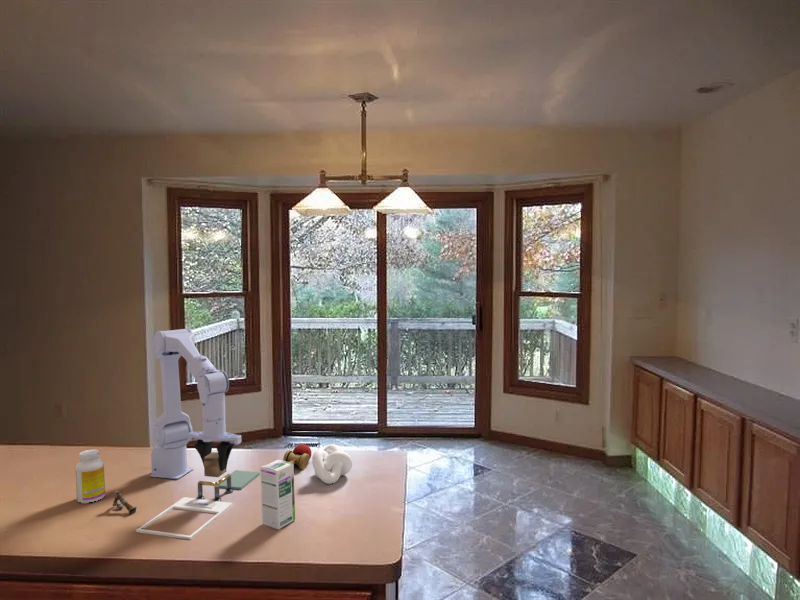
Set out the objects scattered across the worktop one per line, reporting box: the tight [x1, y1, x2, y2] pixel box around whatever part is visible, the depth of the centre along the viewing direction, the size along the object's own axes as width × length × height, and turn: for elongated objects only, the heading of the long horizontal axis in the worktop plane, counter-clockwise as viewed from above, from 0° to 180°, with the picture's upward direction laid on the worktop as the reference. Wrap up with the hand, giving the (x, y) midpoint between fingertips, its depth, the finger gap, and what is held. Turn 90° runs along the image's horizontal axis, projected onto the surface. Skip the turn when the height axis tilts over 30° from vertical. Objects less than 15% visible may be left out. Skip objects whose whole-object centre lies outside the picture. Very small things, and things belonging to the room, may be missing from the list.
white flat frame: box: [135, 496, 234, 540], centre depth 133 cm, size 15×1×18 cm
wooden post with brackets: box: [112, 490, 138, 515], centre depth 137 cm, size 2×8×4 cm, turn 61°
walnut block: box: [203, 451, 227, 478], centre depth 141 cm, size 4×4×5 cm
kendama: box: [282, 443, 312, 471], centre depth 163 cm, size 8×6×18 cm
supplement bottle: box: [74, 449, 106, 504], centre depth 143 cm, size 7×7×13 cm
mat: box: [219, 469, 261, 490], centre depth 155 cm, size 8×11×1 cm
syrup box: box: [259, 459, 296, 530], centre depth 130 cm, size 6×6×14 cm
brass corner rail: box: [196, 473, 234, 502], centre depth 145 cm, size 7×8×5 cm
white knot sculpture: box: [311, 443, 353, 485], centre depth 156 cm, size 11×12×9 cm
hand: (215, 468), depth 141 cm, fingers closed on walnut block, 4 cm apart
